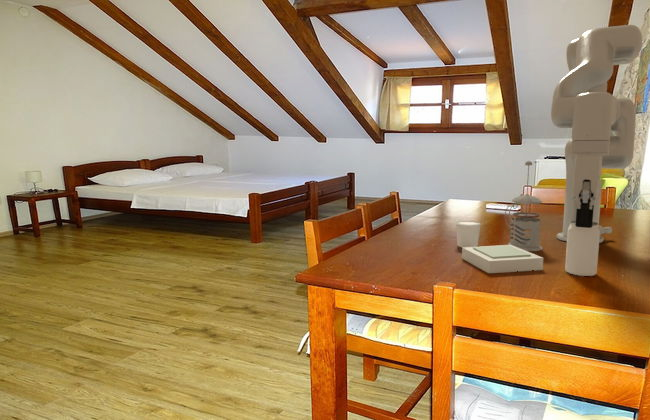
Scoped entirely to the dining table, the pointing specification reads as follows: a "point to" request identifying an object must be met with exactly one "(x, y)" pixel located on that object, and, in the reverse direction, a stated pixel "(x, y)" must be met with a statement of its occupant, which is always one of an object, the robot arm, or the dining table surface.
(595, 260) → the can
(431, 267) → the dining table surface
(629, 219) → the dining table surface
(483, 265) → the base
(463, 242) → the white cup
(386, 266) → the dining table surface
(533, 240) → the french press
